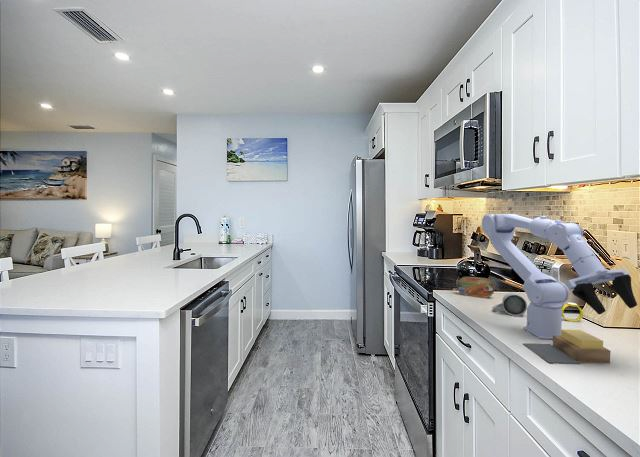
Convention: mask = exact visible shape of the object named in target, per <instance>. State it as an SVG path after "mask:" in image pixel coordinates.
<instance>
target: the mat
mask: <svg viewBox="0 0 640 457" xmlns="http://www.w3.org/2000/svg"><path fill="white" fill-rule="evenodd" d="M522 345H523V346H524V347H526V348H527V349H529V350H530V351H531V352H532V353H534V354H535V355H537V356H538V357H539V358H541V359H542V360H544V361H545V362H546V363H548V364H553V363H559V364H562V365H563V364H566V365H569V364H570V365H571V364H572V365H580V364H581V362H578V361H576V360H575V359H573V358H572V357H570V356H569V355H567V354H565V353H564V352H562V351H561V350H559V349H558V348H556V347H554V346H553V344H552V343H527V342H526V343H525V342H524V343H522ZM559 364H558V365H559Z"/></svg>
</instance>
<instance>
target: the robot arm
mask: <svg viewBox="0 0 640 457" xmlns="http://www.w3.org/2000/svg"><path fill="white" fill-rule="evenodd" d="M516 228H519V229H524V230H529V233H530V234H531V235H532V236H536V237H539V238H542V239H546V240H548V241H549V242H550V243H552V244H554V245H556V246H557V247H558V249H559V250H561V251H562V252H563V254H564V255H565V257H566V259H567V260H568V261H569V263H570V265H571V266H572V267H573V269H574V270H575V272H576V273H577V274H578V276H579V277H575V278H573V279H568V280H567V281H566V282H565V283H563V282H561V281H559V280H558V279H555V277H554V276H552V275H549V274H546V273H543V272H542V271H541V270H540V269H539V268H538V267H537V266H536V265H535V264H534V263H533V262H532V261H531V260H530V259H529V258H528V257H527V256H526V255H525V254H524V253H523V252H522V251H521V249H519V248H518V247H517V246H516V245H515V244H514V243H513V242H512V240H514V235H515V231H516ZM481 231H482V232H483V233H484V234H485V235H486V236H487V237H488V239H489V241H490V243H491V246H492V247H493V249H495V251H496V252H497V253H498V254H499V255H500V256H501V257H502V259H504V261H505V262H506V263H507V264H508V265H509V266H510V267H511V268H512V269H513V271H514V272H515V273H516V274H517V275H518V276H519V277H520V278H521V279H522V280H523V282H524V283H523V285H522V290H523V291H524V292H525V294H526V296H527V298H528V300H529V302H530V303H529V304H527V310H526V326H523V329H525V330H526V331H527V332H528V333H531V334H533V335H534V336H535V337H537V338H538V339H540V340H541V339H542V340H553V335H560V336H561V330H562V326H563V325H562V320H563V317H562V307H563V306H564V305H565V303H567V301H569V300H568V299H569V297H570V291H571V290H572V291H571V293H572V294H573V296H574V297H576V298H578V299H580V300H581V301H583V302H584V303H586V304H587V305H588V306H589V307H590V308H591V309H592V310H593V311H594V312H596V314H597V315H602V314H604V313H605V312H606V308H605V306H604V305H603V303H602V302H601V300H600V299H599V297H598V295H597V293H596V291H595V288H594V286H593V285H595V284H596V285H597V284H601V283H608V282H611V281H612V282H611V283H612V284H609V288H610V289H611V290H612V291H614V292H615V294H617V295H618V296H619V297H620V298H621V300H622V301H623V303H624V305H625V306H627V307H628V308H629V309H633V308H635V307H637V306H638V302H637V301H636V298H635V295H634V291H633V288H632V287H633V286H632V277H631V275H630V273H629V272H628V270H626V269H625V268H622V269H607V268H605V266H604V265H603V264H602V263H601V261H600V260H599V258H598V257H597V256H596V254H595V253H594V251H593V250H592V248H591V247H590V246H589V244H588V243H587V242H586V241H585V239H584V238H583V237H584V229H583V228H582V226H580V225H579V224H578V223H575V222H572V221H571V222H567V223H564V222H563V221H562V220H561V219H555V220H554V219H549V218H548V216H547V215H541V216H539V217H535V218H533V219H532V218H529V217H525V216H523V215H522V216H521V215H518V214H516V213H494V214H493V213H492V214H491V213H486V214H484V215H483V217H482V219H481Z"/></svg>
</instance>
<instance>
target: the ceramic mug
mask: <svg viewBox="0 0 640 457" xmlns="http://www.w3.org/2000/svg"><path fill="white" fill-rule="evenodd" d="M527 307H528V303H527V301H526V299H525V297H524V296H523V295H522V294H520V293H518V292H515V291H509V292H508V293H506V294H504V295H503V297H502V302H501V303H498V304H495V305H493V306H492V310H493V312H495V313H497V312H498V313H499V312H502V311H503V312H505V313H506V314H507V315H509V316H512V317H520V316H522V315H524V314H525V313H527Z"/></svg>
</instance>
